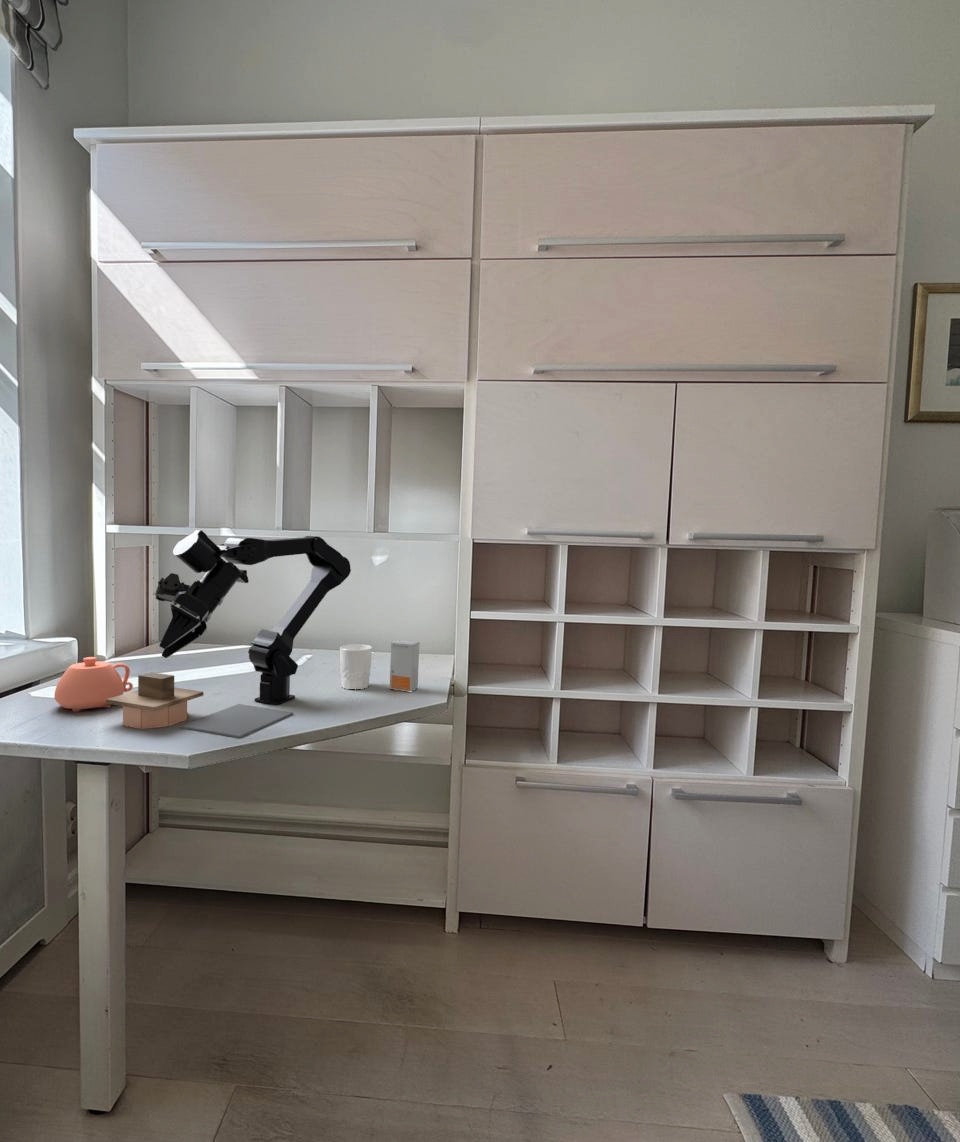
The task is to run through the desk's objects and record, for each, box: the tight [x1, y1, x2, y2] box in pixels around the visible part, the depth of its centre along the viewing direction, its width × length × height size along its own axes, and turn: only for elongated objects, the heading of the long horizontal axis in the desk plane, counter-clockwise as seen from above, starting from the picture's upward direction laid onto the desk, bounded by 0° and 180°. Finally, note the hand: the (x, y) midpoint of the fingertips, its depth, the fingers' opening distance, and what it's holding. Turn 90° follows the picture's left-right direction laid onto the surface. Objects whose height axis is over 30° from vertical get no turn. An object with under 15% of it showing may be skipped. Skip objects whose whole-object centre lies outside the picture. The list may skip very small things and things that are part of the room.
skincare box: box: [389, 639, 420, 692], centre depth 146 cm, size 6×4×12 cm
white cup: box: [339, 643, 373, 691], centre depth 147 cm, size 8×8×10 cm
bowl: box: [122, 701, 188, 730], centre depth 117 cm, size 11×11×4 cm
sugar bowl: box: [53, 656, 134, 712], centre depth 125 cm, size 12×14×10 cm
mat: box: [179, 703, 294, 739], centre depth 118 cm, size 16×14×1 cm
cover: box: [106, 672, 204, 711], centre depth 117 cm, size 12×12×5 cm
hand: (162, 652), depth 112 cm, fingers open, 9 cm apart
